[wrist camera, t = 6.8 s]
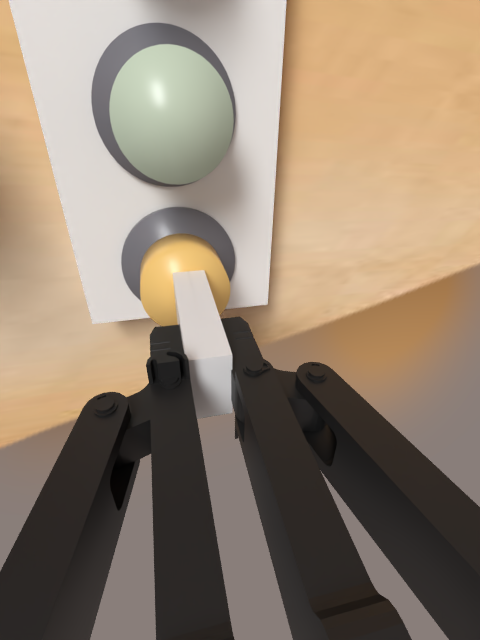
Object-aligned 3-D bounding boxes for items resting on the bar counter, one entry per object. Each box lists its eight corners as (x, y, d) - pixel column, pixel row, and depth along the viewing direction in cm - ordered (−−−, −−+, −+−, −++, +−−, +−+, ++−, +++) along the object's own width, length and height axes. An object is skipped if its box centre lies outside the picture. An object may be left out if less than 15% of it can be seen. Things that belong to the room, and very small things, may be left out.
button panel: (97, 299, 24) (91, 327, 21) (-40, -274, 12) (-95, -383, 9) (255, 284, 26) (269, 307, 23) (275, -215, 14) (308, -288, 11)
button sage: (123, 173, 16) (121, 186, 14) (103, 48, 13) (97, 41, 11) (222, 170, 17) (233, 182, 15) (220, 52, 14) (233, 46, 12)
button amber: (146, 310, 20) (146, 335, 18) (134, 236, 18) (133, 255, 16) (222, 302, 21) (230, 325, 19) (220, 230, 19) (230, 248, 17)
